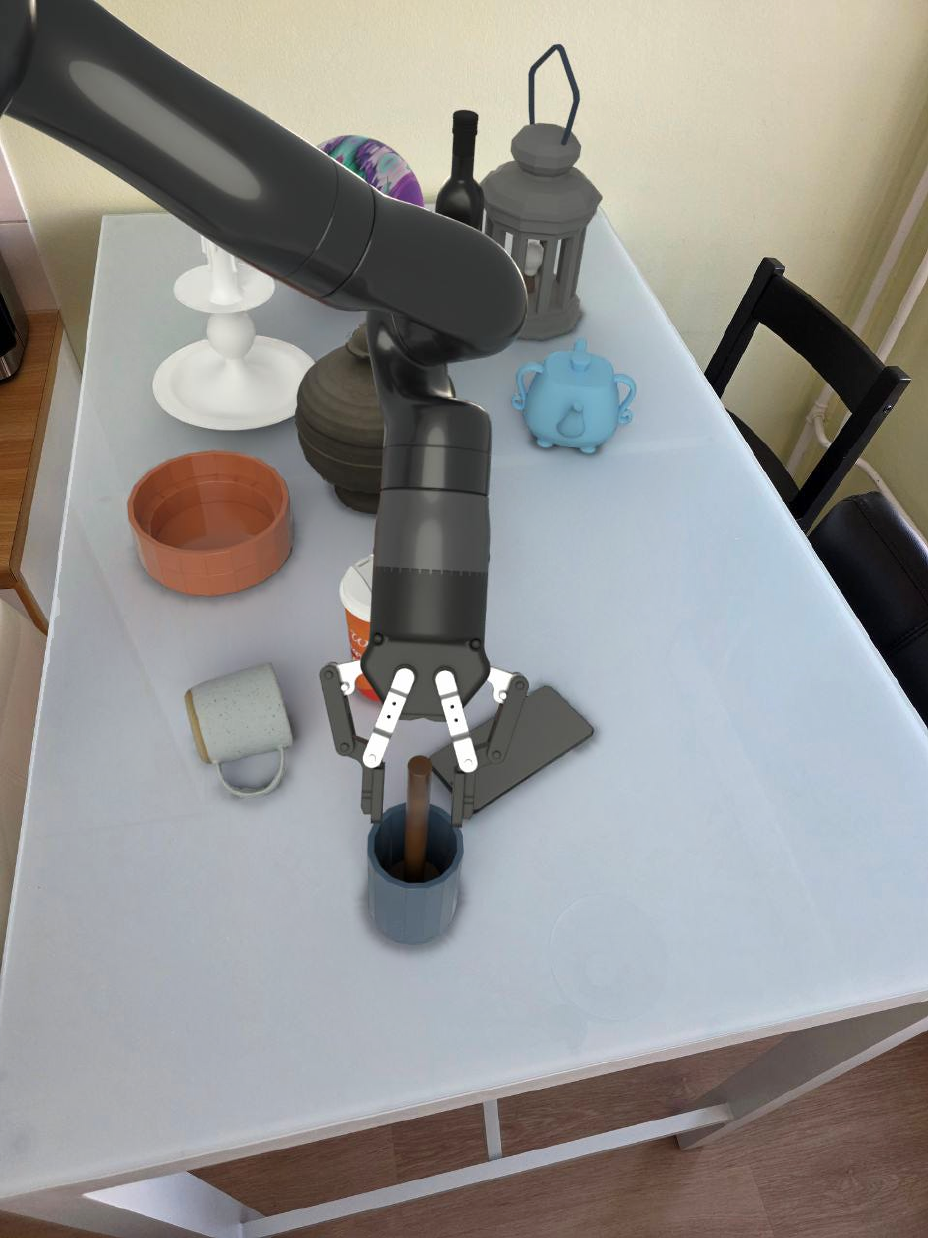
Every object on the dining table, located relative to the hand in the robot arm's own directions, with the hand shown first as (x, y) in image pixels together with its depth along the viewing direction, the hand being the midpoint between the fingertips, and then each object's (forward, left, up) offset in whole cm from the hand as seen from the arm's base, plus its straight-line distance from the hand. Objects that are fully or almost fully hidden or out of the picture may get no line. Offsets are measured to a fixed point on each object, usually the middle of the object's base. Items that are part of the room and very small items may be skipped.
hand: (416, 821), depth 60 cm
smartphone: (+19, -2, -17) cm, 25 cm away
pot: (+48, +24, -17) cm, 56 cm away
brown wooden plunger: (+2, +1, -16) cm, 16 cm away
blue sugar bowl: (+67, +6, -17) cm, 69 cm away
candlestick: (+58, +48, -17) cm, 77 cm away
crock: (+2, +1, -17) cm, 17 cm away
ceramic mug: (+10, +20, -17) cm, 28 cm away
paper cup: (+22, +12, -17) cm, 30 cm away
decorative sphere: (+91, +46, -17) cm, 103 cm away
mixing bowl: (+32, +36, -17) cm, 51 cm away
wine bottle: (+81, +27, -17) cm, 87 cm away
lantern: (+94, +20, -17) cm, 97 cm away
